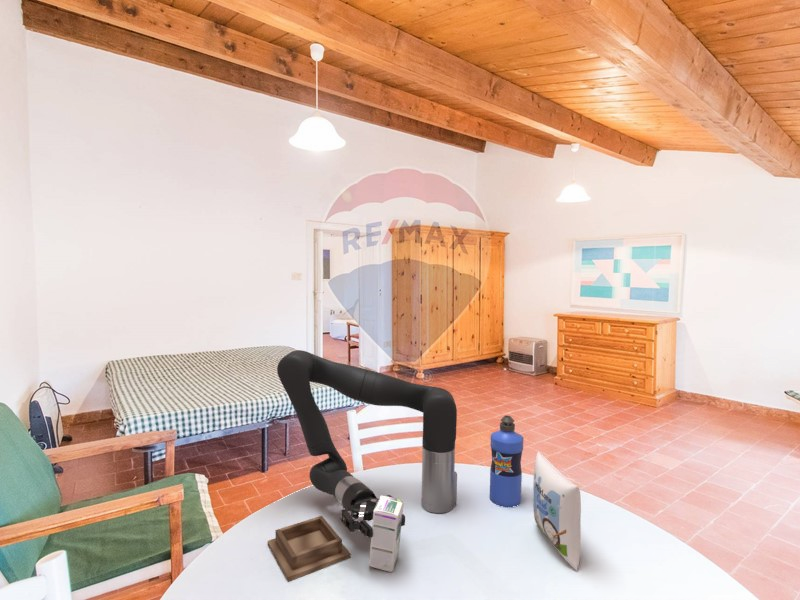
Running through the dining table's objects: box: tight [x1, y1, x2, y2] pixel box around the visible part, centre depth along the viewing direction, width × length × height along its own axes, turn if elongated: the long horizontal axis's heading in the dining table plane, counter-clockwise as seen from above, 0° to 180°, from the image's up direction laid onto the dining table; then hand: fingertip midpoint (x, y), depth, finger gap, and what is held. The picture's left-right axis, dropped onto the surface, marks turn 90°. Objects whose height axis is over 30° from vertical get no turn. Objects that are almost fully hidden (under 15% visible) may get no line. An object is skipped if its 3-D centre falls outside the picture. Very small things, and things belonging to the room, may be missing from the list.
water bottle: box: [489, 415, 524, 508], centre depth 129 cm, size 9×9×25 cm
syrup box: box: [368, 495, 405, 573], centre depth 100 cm, size 6×6×14 cm
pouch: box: [532, 451, 582, 572], centre depth 108 cm, size 8×19×20 cm, turn 5°
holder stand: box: [267, 515, 352, 583], centre depth 105 cm, size 15×15×4 cm
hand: (387, 527), depth 99 cm, fingers closed on syrup box, 8 cm apart
